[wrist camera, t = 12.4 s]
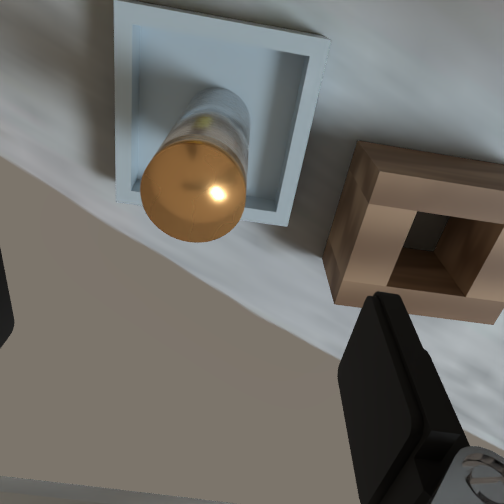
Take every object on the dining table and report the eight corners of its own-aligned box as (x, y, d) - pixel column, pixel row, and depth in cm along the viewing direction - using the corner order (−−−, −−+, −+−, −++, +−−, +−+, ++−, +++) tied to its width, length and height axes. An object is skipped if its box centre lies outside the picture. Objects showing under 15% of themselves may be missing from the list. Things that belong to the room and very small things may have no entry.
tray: (127, -1, 25) (113, -1, 22) (323, 35, 26) (331, 40, 23) (126, 184, 31) (115, 202, 28) (284, 208, 32) (287, 226, 29)
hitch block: (357, 140, 29) (379, 171, 24) (516, 166, 30) (569, 201, 25) (321, 258, 34) (334, 304, 29) (458, 277, 35) (493, 324, 30)
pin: (186, 82, 26) (140, 136, 16) (255, 93, 27) (253, 154, 16) (182, 149, 29) (139, 235, 18) (245, 159, 29) (238, 248, 19)
